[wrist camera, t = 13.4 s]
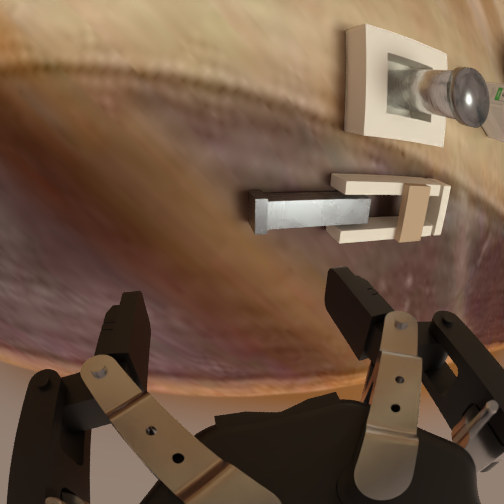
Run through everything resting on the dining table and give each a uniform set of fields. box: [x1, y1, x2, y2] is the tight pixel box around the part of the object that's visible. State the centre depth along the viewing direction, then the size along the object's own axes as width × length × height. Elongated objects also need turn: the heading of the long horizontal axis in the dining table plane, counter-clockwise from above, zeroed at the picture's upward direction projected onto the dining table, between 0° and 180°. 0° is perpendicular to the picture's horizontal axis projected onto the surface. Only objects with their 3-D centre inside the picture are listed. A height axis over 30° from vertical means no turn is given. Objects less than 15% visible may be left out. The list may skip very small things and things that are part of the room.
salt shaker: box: [387, 67, 490, 128], centre depth 19 cm, size 5×5×10 cm
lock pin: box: [249, 190, 371, 234], centre depth 26 cm, size 3×11×3 cm, turn 89°
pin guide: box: [326, 173, 451, 243], centre depth 27 cm, size 6×14×4 cm, turn 89°
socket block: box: [344, 24, 447, 147], centre depth 22 cm, size 10×10×4 cm
